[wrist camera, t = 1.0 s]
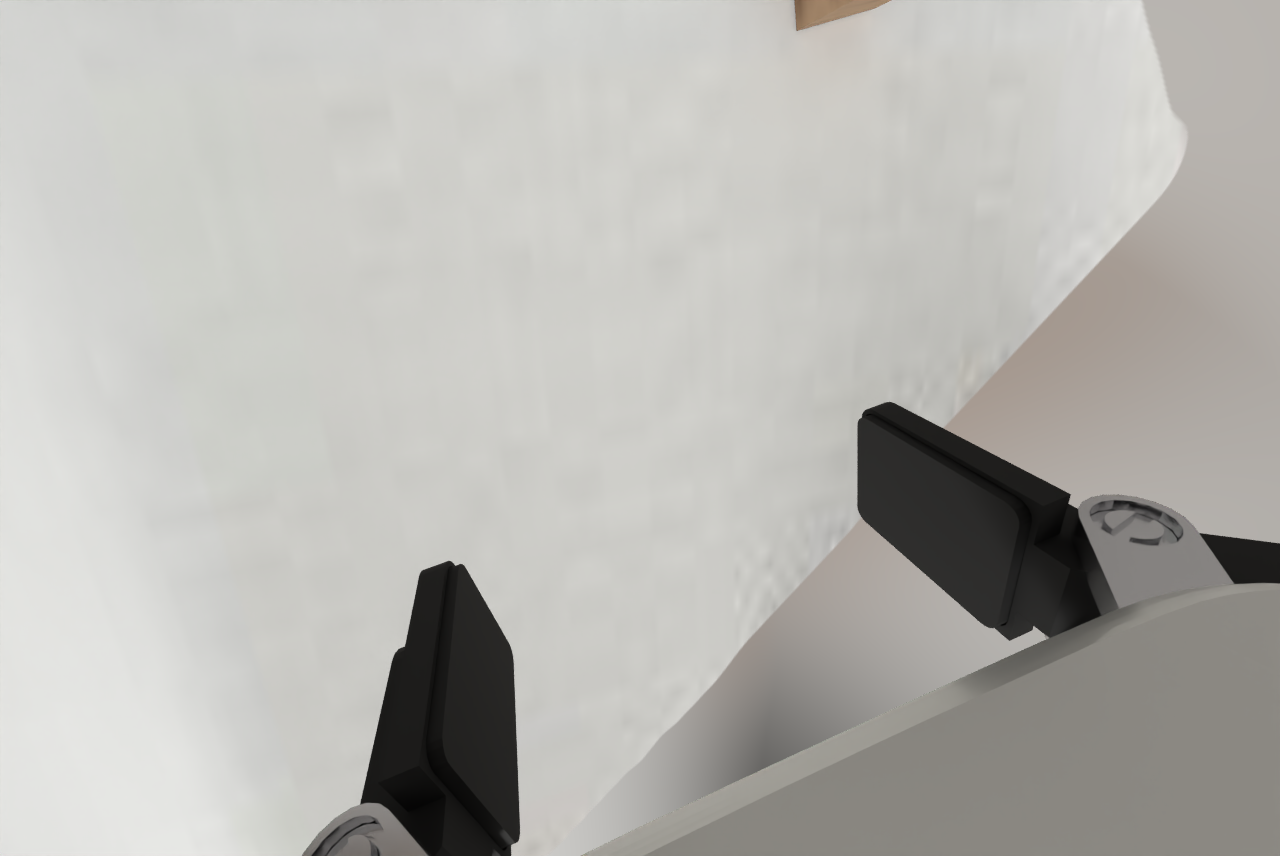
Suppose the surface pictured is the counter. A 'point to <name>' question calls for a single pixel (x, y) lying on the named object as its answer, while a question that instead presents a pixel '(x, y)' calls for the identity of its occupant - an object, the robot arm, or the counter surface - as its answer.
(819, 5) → the walnut block
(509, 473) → the counter surface
